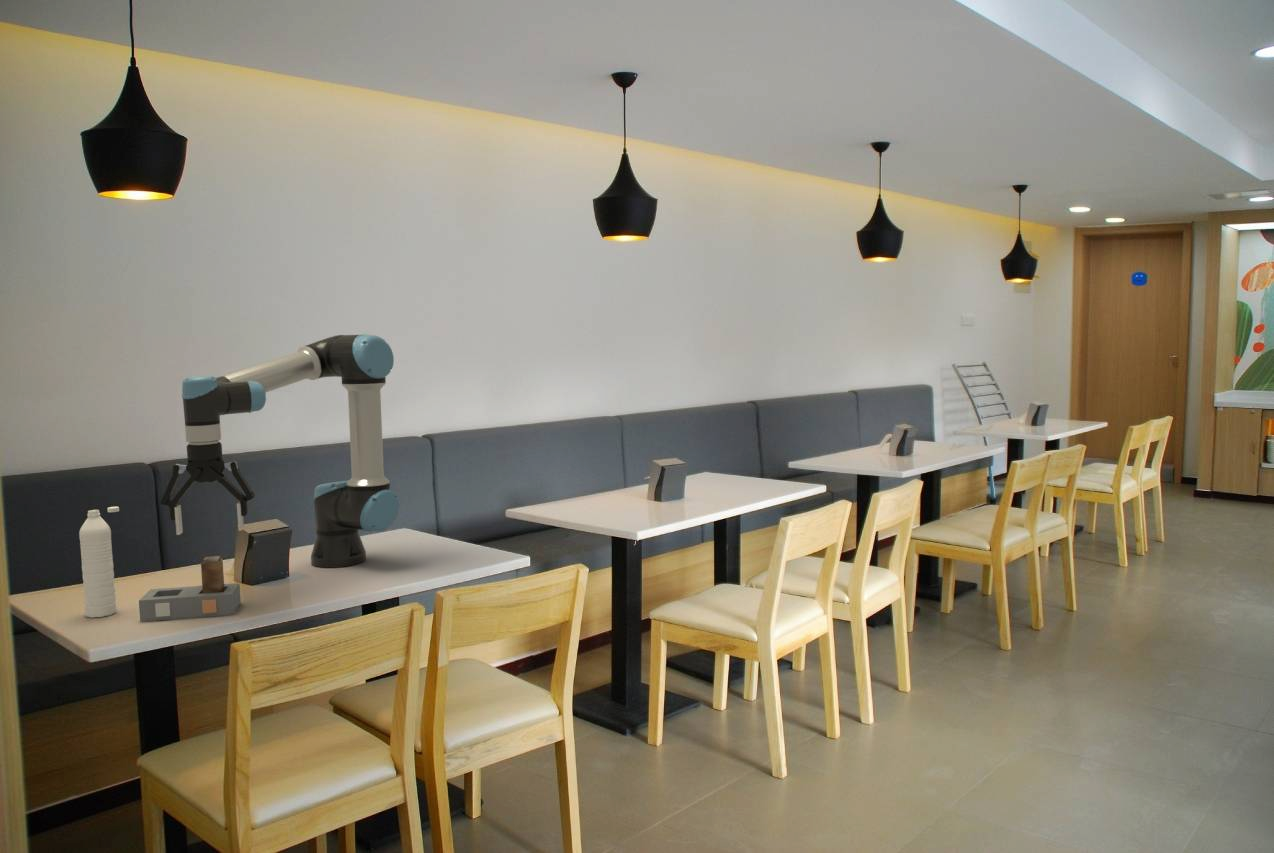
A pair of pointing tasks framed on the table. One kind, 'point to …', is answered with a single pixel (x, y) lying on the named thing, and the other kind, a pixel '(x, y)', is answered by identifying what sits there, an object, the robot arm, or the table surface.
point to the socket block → (188, 603)
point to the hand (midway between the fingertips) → (210, 531)
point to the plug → (212, 575)
